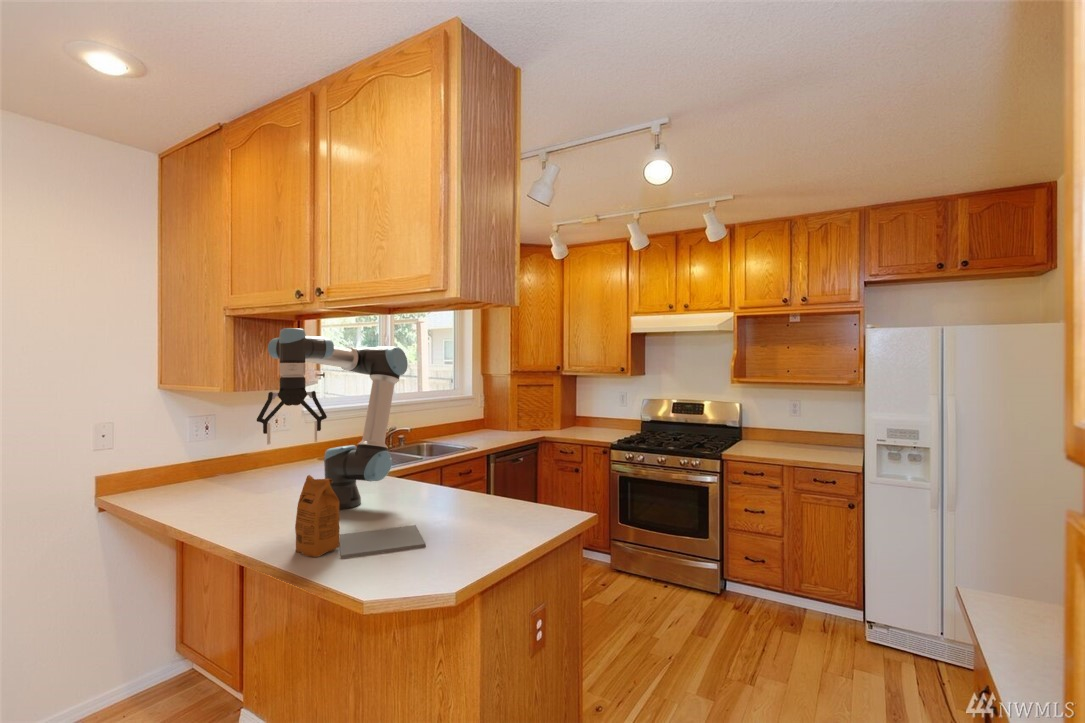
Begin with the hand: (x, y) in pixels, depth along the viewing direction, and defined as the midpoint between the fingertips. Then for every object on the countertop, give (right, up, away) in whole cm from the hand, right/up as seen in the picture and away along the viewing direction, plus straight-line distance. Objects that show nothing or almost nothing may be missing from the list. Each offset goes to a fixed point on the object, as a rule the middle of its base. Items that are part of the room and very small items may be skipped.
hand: (292, 442), depth 166 cm
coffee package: (+13, -31, -12) cm, 35 cm away
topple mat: (+30, -30, -5) cm, 43 cm away
